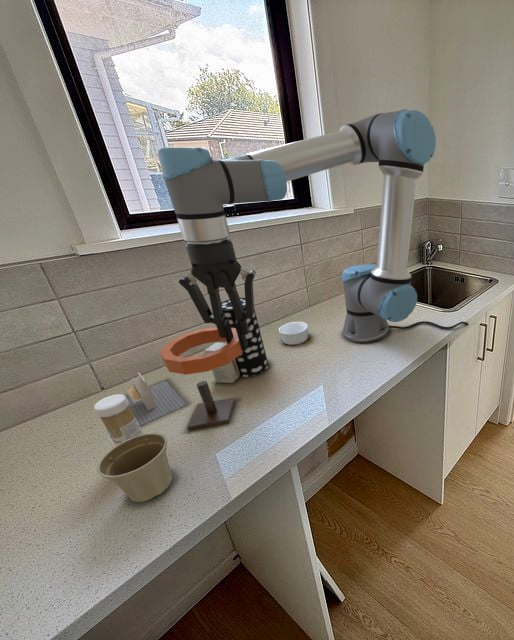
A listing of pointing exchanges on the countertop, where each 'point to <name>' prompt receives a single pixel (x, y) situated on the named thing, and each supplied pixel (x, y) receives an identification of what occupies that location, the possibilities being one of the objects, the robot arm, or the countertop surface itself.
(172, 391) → the architectural model
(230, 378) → the pale small box
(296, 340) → the ramekin
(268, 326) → the countertop surface
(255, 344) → the spotted tube
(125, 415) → the sprinkles bottle
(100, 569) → the countertop surface
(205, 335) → the ring
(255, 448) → the countertop surface
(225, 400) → the stand
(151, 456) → the flower pot
